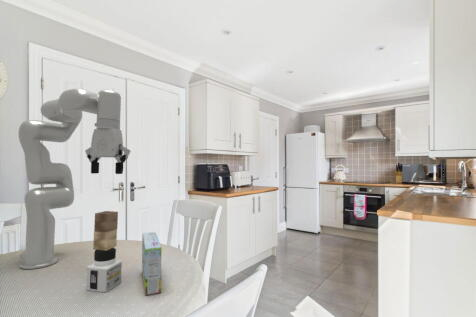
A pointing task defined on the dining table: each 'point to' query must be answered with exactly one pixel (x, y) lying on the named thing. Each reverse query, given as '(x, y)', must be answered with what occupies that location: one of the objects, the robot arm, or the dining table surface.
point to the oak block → (105, 240)
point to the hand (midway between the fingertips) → (106, 173)
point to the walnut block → (106, 221)
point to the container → (104, 271)
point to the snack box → (151, 263)
